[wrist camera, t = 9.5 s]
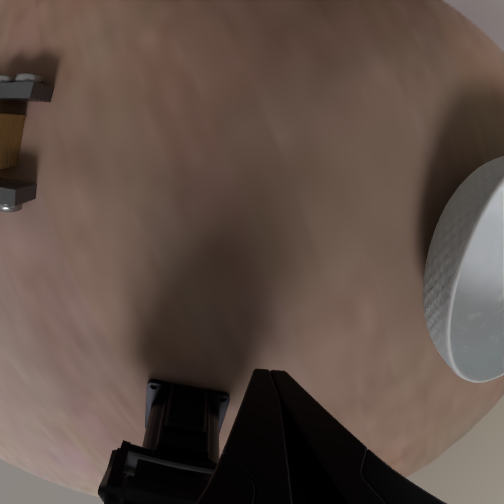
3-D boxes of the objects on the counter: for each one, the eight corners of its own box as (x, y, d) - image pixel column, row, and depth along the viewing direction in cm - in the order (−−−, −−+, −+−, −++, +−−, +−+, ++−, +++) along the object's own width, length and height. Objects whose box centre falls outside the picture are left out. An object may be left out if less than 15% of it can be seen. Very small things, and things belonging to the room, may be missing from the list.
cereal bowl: (541, 195, 20) (592, 213, 13) (481, 343, 24) (520, 381, 18) (436, 107, 17) (508, 103, 10) (358, 322, 22) (400, 383, 15)
